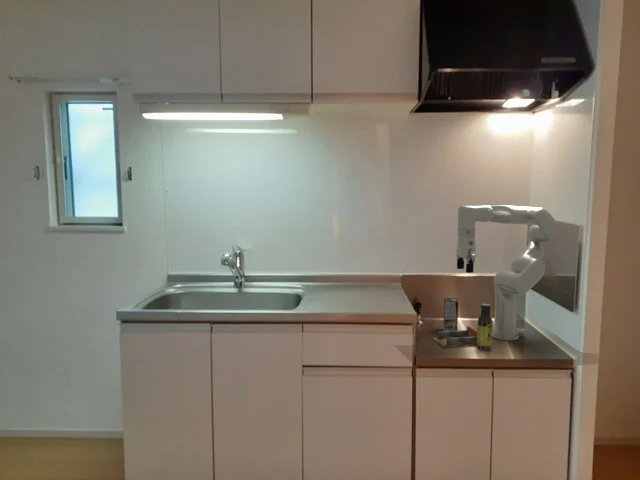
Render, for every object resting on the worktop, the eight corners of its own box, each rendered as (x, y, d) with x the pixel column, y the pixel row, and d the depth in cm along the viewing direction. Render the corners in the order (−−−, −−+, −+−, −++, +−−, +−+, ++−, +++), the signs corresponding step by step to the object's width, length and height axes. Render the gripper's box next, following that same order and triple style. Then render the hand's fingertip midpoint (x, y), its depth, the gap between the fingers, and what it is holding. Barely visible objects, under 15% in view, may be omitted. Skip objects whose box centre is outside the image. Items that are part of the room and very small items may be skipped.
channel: (469, 337, 225) (469, 325, 225) (481, 345, 213) (482, 333, 213) (433, 339, 222) (433, 327, 222) (444, 347, 210) (444, 335, 210)
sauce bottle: (490, 352, 205) (492, 307, 203) (475, 349, 208) (476, 305, 206) (492, 347, 211) (494, 303, 208) (478, 345, 214) (479, 302, 211)
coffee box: (457, 334, 229) (458, 302, 227) (443, 334, 230) (444, 301, 229) (456, 329, 238) (457, 297, 236) (442, 328, 239) (443, 297, 237)
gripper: (483, 234, 205) (481, 273, 207) (465, 231, 222) (464, 267, 224) (466, 235, 205) (465, 274, 206) (450, 231, 222) (449, 267, 223)
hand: (464, 270), depth 215 cm, fingers open, 9 cm apart
